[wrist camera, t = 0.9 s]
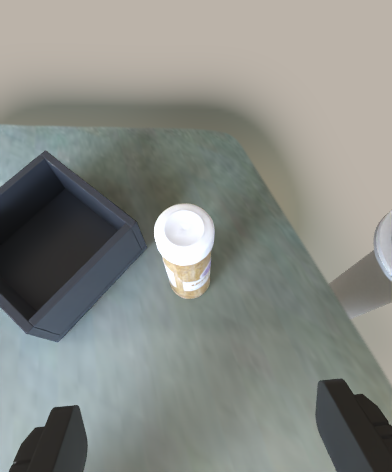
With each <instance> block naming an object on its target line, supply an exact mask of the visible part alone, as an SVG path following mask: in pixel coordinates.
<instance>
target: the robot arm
mask: <svg viewBox="0 0 392 472" xmlns="http://www.w3.org/2000/svg"><path fill="white" fill-rule="evenodd" d="M391 240H392V237H391ZM315 415H316V423H317V427H318V431H319V433H320V436H321V438H322V440H323V442H324V445H325V447H326V449H327V451H328V453H329V456H330V458H331V460H332V462H333V464H334V466H335V469H336V471H337V472H392V426H391V425H389V423H388V420H387V419H386V418H385V416H384V415H383V413H382V412H381V410H380V409H379V408H378V406H377V405H375V404H374V403H373V402H372V401H370V400H369V399H368V398H367V397H366V396H364V395H363V394H356V395H354V394H353V393H352V391H351V389H350V388H349V386H348V385H347V383H346V382H345V381H344V380H343V379H332V380H322V381H319V382H318V388H317V401H316V414H315ZM87 447H88V444H87V436H86V432H85V428H84V424H83V420H82V416H81V412H80V408H79V406H78V405H74V406H64V407H55V408H53V409H52V410H51V412H50V415H49V417H48V420H47V422H46V425H45V427H37V428H35V429H34V430H33V431H32V432H31V433H30V434H29V436H28V437H27V438H26V439H25V440H24V441H23V443H22V444H21V446H20V448H19V450H18V453H17V455H16V457H15V459H14V461H13V462H14V463H13V465H12V466H11V468H10V470H9V472H83V470H84V466H85V462H86V457H87Z"/></svg>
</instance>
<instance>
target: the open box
mask: <svg viewBox="0 0 392 472" xmlns="http://www.w3.org/2000/svg"><path fill="white" fill-rule="evenodd" d="M146 248H147V246H146V244H145V241H144V239H143V236H142V234H141V231H140V229H139V226H138V224H137V222H136V221H135V220H134V219H133V218H131V217H130V216H129V215H127V214H126V213H125V212H124V211H122V210H121V209H120V208H119V207H117V206H116V205H115V204H113V203H112V202H111V201H110V200H108V199H107V198H106V197H104V196H103V195H102V194H101V193H99V192H98V191H97V190H96V189H94V188H93V187H92V186H90V185H89V184H88V183H87V182H85V181H84V180H83V179H81V178H80V177H79V176H78V175H76V174H75V173H74V172H73V171H71V170H70V169H69V168H67V167H66V166H65V165H64V164H62V163H61V162H60V161H58V160H57V159H56V158H55V157H53V156H52V155H51V154H50V153H48V152H47V151H44V152H43V153H42V154H40V155H39V156H38V157H37V158H35V159H34V160H33V161H32V162H30V163H29V164H28V165H27V166H26V167H24V168H23V169H22V170H21V171H20V172H18V173H17V174H16V175H15V176H13V177H12V178H11V179H10V180H9V181H7V182H6V183H5V184H4V185H3V186H1V187H0V307H1V308H2V309H3V310H4V311H5V312H6V313H7V314H8V316H9V317H10V318H11V319H12V320H13V321H14V322H15V323H16V324H17V325H18V326H19V327H20V328H21V329H22V330H23V331H24V332H25V333H26V334H29V335H33V336H36V337H40V338H44V339H48V340H51V341H55V342H59V341H60V340H61V339H62V338H63V336H64V335H65V334H66V333H67V332H68V331H69V330H70V329H71V328H72V327H73V326H74V325H75V324H76V323H77V322H78V321H79V319H80V318H81V317H82V316H83V315H84V314H85V313H86V312H87V311H88V310H89V309H90V308H91V307H92V306H93V305H94V304H95V302H96V301H97V300H98V299H99V298H100V297H101V296H102V295H103V294H104V293H105V292H106V291H107V290H108V289H109V288H110V286H111V285H112V284H113V283H114V282H115V281H116V280H117V279H118V278H119V277H120V276H121V275H122V274H123V273H124V272H125V271H126V269H127V268H128V267H129V266H130V265H131V264H132V263H133V262H134V261H135V260H136V259H137V258H138V257H139V256H140V255H141V254H142V252H143V251H144V250H145V249H146Z"/></svg>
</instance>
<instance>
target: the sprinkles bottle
mask: <svg viewBox="0 0 392 472" xmlns="http://www.w3.org/2000/svg"><path fill="white" fill-rule="evenodd" d="M154 236H155V241H156V244H157V248H158V250H159V252H160V253H161V254H162V258H163V262H164V265H165V269H166V272H167V275H168V278H169V281H170V285H171V288H172V290H173V291H174V292H175V293H176V294H177V295H179V296H180V297H182V298H186V299H191V298H196V297H199V296H200V295H202V294H203V293H204V292H205V291H206V290H207V288H208V286H209V283H210V267H211V249H212V246H213V243H214V224H213V221H212V219H211V217H210V216H209V214H208V213H207V212H206V211H205V210H203V209H202V208H200V207H198V206H196V205H193V204H186V203H184V204H177V205H173V206H171V207H169V208H167V209H166V210H165V211H163V212H162V213H161V215H160V216H159V217H158V219H157V221H156V224H155V228H154Z"/></svg>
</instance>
